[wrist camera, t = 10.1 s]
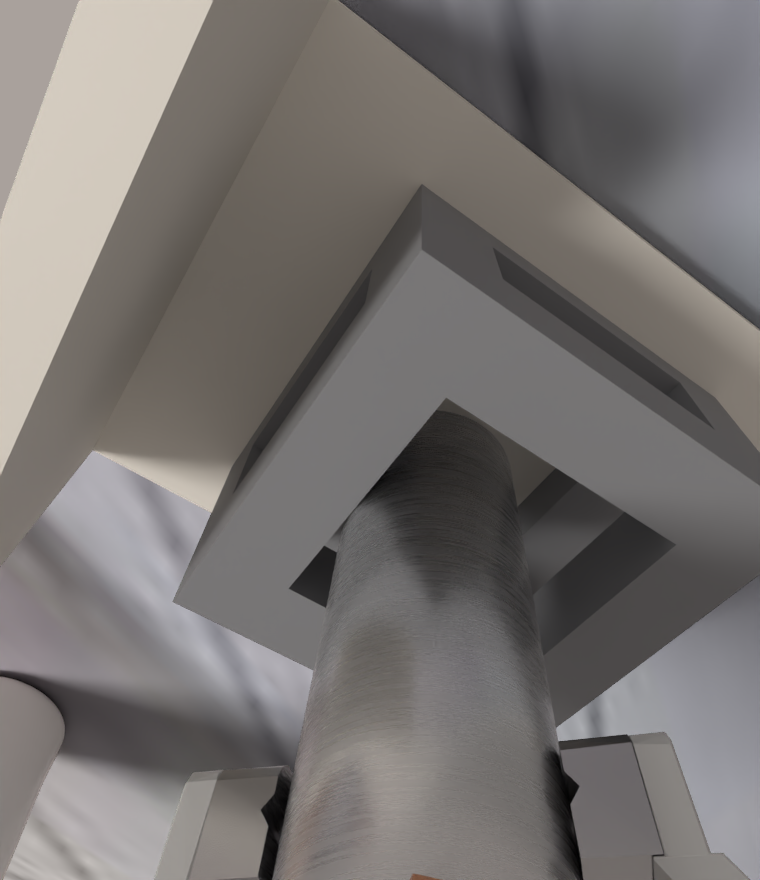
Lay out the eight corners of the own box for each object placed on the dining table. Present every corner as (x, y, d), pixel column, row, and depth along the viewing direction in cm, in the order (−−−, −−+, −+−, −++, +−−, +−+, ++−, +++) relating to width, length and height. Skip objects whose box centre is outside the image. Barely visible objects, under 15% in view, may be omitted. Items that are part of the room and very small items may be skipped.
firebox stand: (555, 672, 26) (618, 977, 18) (73, 411, 22) (-158, 660, 13) (871, 417, 20) (1204, 700, 12) (291, -37, 15) (124, -127, 7)
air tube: (481, 557, 18) (612, 2097, 5) (338, 521, 18) (19, 2038, 4) (539, 424, 16) (1122, 2569, 2) (378, 381, 16) (0, 2508, 2)
